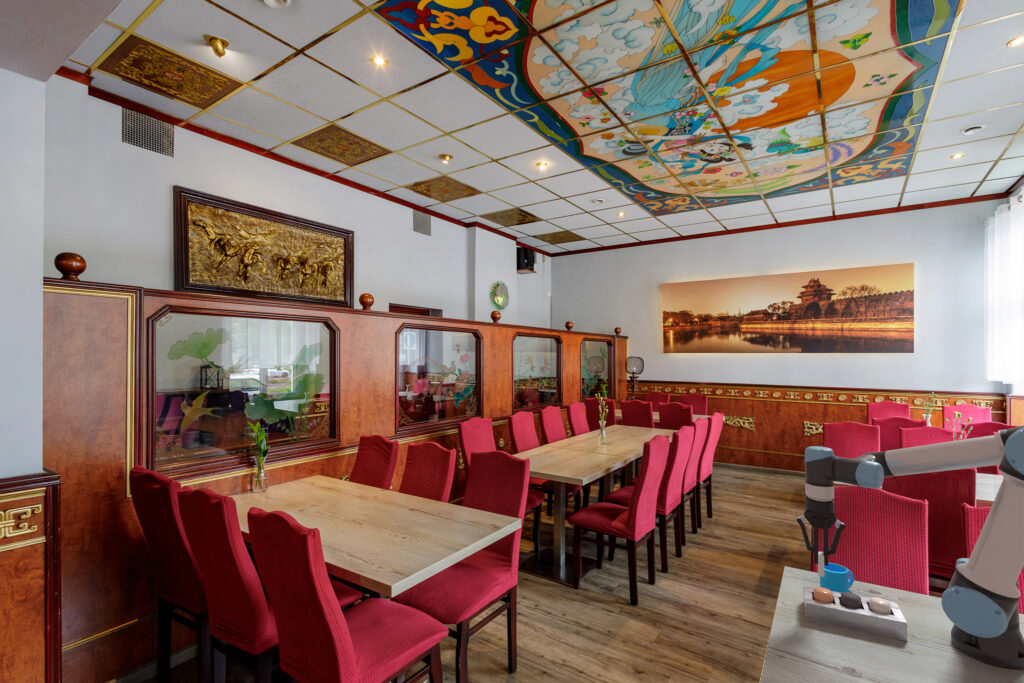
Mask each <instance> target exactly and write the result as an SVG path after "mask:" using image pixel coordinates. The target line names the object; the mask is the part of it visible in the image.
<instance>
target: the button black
mask: <svg viewBox="0 0 1024 683" xmlns="http://www.w3.org/2000/svg"><path fill="white" fill-rule="evenodd" d="M860 596H861V595H858V594H856V593H853V592H850V591H849V592H842V593H841V605H842V606H847V607H852V608H858V609H861V597H862V596H861V597H860Z"/></svg>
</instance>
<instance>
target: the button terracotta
mask: <svg viewBox="0 0 1024 683" xmlns="http://www.w3.org/2000/svg"><path fill="white" fill-rule="evenodd" d="M813 588H814V600H816V601H821V602H826V603H831V604H833V592H832V591H830V590H828V589H826V588H821V587H820V586H818V587H813Z"/></svg>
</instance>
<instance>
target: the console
mask: <svg viewBox="0 0 1024 683" xmlns="http://www.w3.org/2000/svg"><path fill="white" fill-rule="evenodd" d="M814 588H815V587H811V586H805V585H803V586H802V592H803V593H802V594H803V596H802V597H803V599H802V600H803V607H804V613H805V614H804V615H805V620H806V621H810V622H815V623H819V624H824V625H828V626H832V627H833V626H834V627H839V628H843V629H848V630H851V631H858V632H863V633H866V634H867V633H868V634H871V635H872V634H873V635H876V636H880V637H886V638H891V639H895V640H900V641H905V642H909V640H908V622H907V620H906V618H905V616H904V614H903V613H902V611H901V609H900V606H899V605H898V603H897V602H894V601H889V602H890V604H891V615H889V614H884V613H878V612H873V611H870V608H869V598H870V597H864V596H861V595H859V596H860V597H861V609H858V608H852V607H847V606H842V605H841V593H839V592H833V591H832V592H833V604H831V603H826V602H821V601H816V600H814Z"/></svg>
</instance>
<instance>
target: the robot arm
mask: <svg viewBox="0 0 1024 683" xmlns="http://www.w3.org/2000/svg"><path fill="white" fill-rule="evenodd" d="M991 466H994V467H995V466H998V468H997V470H998V472H999V473H1000V474H1001V475H1002V477H1003V479H1002V481H1001V484H1000V486H999V489H998V491H997V493H996V496H995V498H994V500H993V502H992V505H991V507H990V509H989V512H988V514H987V517H986V519H985V521H984V523H983V526H982V528H981V530H980V533H979V535H978V538H977V540H976V542H975V545H974V548H973V549H972V552H971V554H970V556H969V557H966V558H965V557H961V558H958V559H956V562H955V566H954V567H955V570H954V573H953V575H952V577H951V579H950V582H949V584H948V586H947V588H946V589H945V590H944V591H943V592H942V594H941V607H942V610H943V612H944V613H945V615H946V616H947V618H948V620H950V621H951V623H953V624H952V625H953V626H952V628H951V631H950V640H951V643H952V644H953V646H955V647H956V649H958V650H959V651H961V652H962V653H964V654H966V655H967V656H970V657H972V658H973V659H976V660H979V661H981V662H983V663H986V664H991V665H992V666H993V665H994V666H997V667H1001V668H1007V669H1014V670H1022V669H1024V636H1023V633H1022V631H1021V629H1020V628H1021V626H1020V625H1021V624H1020V611H1019V610H1020V607H1019V601H1020V597H1021V595H1022V593H1021V591H1020V590H1019V587H1018V585H1020V584H1019V581H1018V579H1019V576H1020V574H1021V571H1022V570H1023V567H1024V425H1021V426H1020V425H1019V426H1016V427H1011V428H1007V429H1006V428H1005V429H1000V430H999V429H998V430H997V432H996V433H995V434H993V435H985V436H980V437H973V438H972V437H970V438H965V439H960V440H952V441H944V442H939V443H938V442H937V443H931V444H925V445H917V446H911V447H905V448H898V449H897V448H896V449H891V450H890V449H889V450H885V451H869V452H864V453H863V454H862V455H858V456H857V457H854V458H849V457H841V456H837V455H835V454H834V450H833V449H832V448H830V447H825V446H819V445H817V446H816V445H815V446H807V447H806V448H805V450H804V476H805V477H804V479H805V481H804V487H805V488H804V489H805V490H804V491H805V510H804V512H803V514H802V515H800V516H799V515H797V516H796V522H797V524H798V525H799V527H800V531H801V533H802V537H803V540H804V543H805V546H806V550H807V551H810V552H812V554H813V556H812V557H813V563H814V564H816V565H817V574H818V575H817V576H818V577H820V576H821V577H824V565H827V566H828V563H829V556H830V555H836V553H837V549H838V545H839V542H840V539H841V535H842V532H843V531H844V530H845V529H846V525H845V523H844V522H843V521H840V520H839V519H838V518H837V516H836V513H835V501H834V499H835V482H837V483H840V484H841V483H842V484H847V485H852V486H856V487H857V486H858V487H862V488H864V489H865V488H866V489H869V488H870V489H876V490H877V489H881V487H882V486H883V484H884V480H885V478H892V477H898V476H899V477H900V476H907V475H908V476H909V475H918V474H928V473H937V472H946V471H955V470H964V469H975V468H982V467H991ZM806 521H807V522H808V523H809V525H811V527H812V545H811V542H810V538H809V536H808V532H807V528H806V525H805V524H806ZM833 525H834V526H835V529H834V533H833V536H832V539H831V542H830V548H829V529H830V528H831V527H832V526H833ZM819 529H822V551H819Z"/></svg>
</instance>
